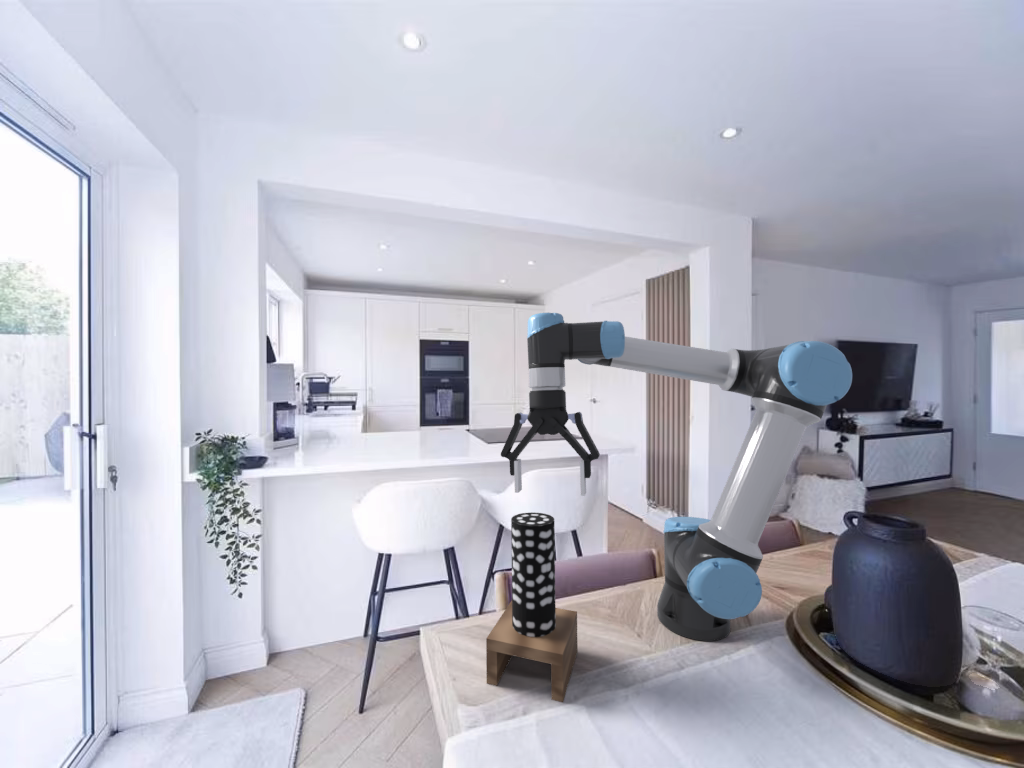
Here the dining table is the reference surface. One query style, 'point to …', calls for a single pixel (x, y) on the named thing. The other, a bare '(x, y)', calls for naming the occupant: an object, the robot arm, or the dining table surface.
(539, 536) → the spotted tube
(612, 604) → the dining table surface
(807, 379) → the robot arm
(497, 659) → the wooden bridge block
